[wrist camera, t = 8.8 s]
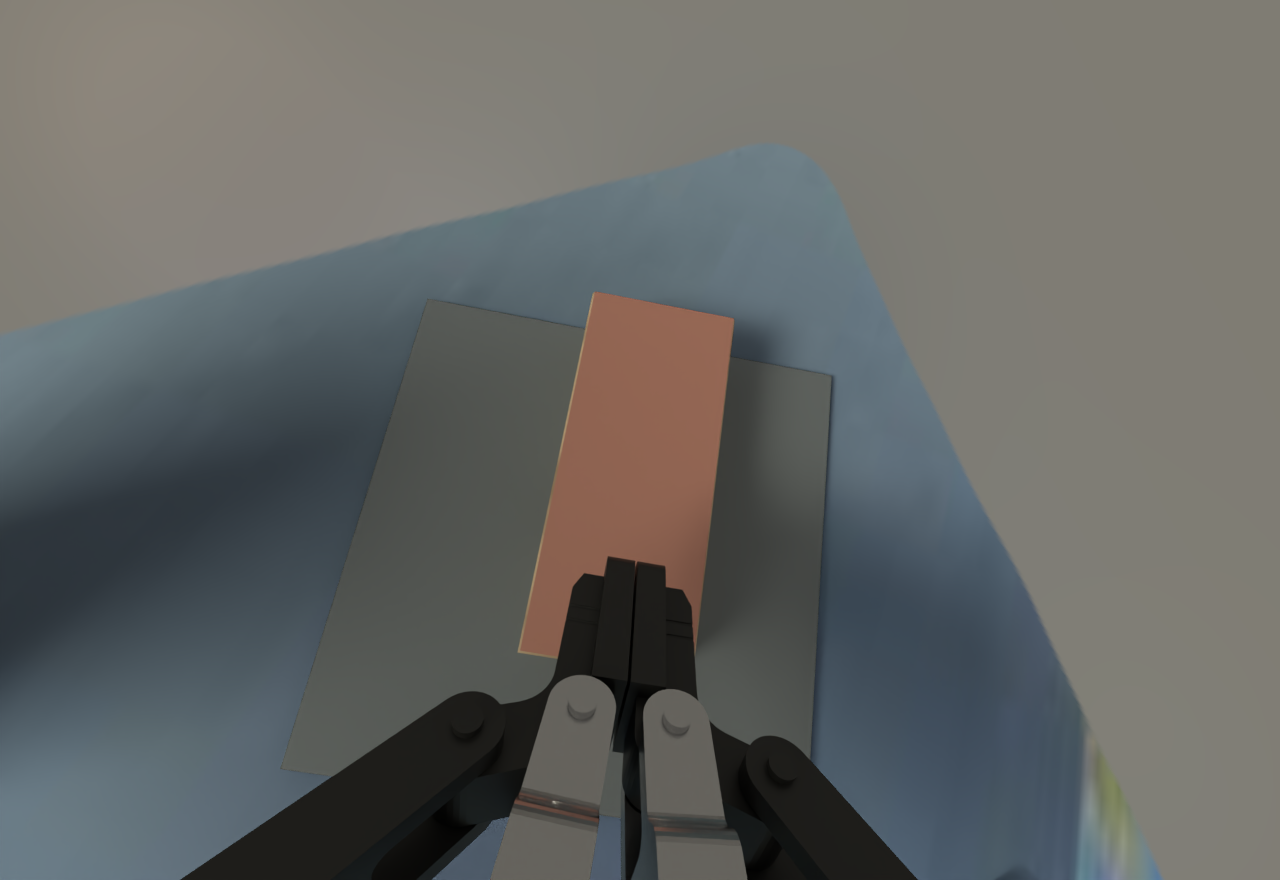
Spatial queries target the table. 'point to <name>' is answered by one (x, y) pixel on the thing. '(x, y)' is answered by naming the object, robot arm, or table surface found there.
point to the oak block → (634, 456)
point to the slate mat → (511, 535)
